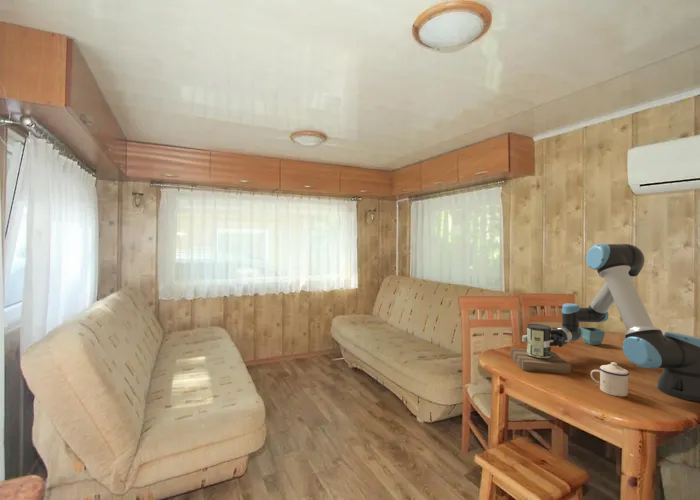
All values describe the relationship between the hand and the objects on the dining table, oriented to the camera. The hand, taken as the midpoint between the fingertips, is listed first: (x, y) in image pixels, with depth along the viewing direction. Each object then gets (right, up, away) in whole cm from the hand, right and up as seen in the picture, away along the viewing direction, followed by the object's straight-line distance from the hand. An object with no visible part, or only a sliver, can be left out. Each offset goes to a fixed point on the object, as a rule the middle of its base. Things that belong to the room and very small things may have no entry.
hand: (533, 341), depth 157 cm
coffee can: (+4, -7, +2) cm, 8 cm away
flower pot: (+55, -12, +37) cm, 68 cm away
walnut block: (+4, -12, +2) cm, 12 cm away
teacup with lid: (+15, -12, -27) cm, 33 cm away
